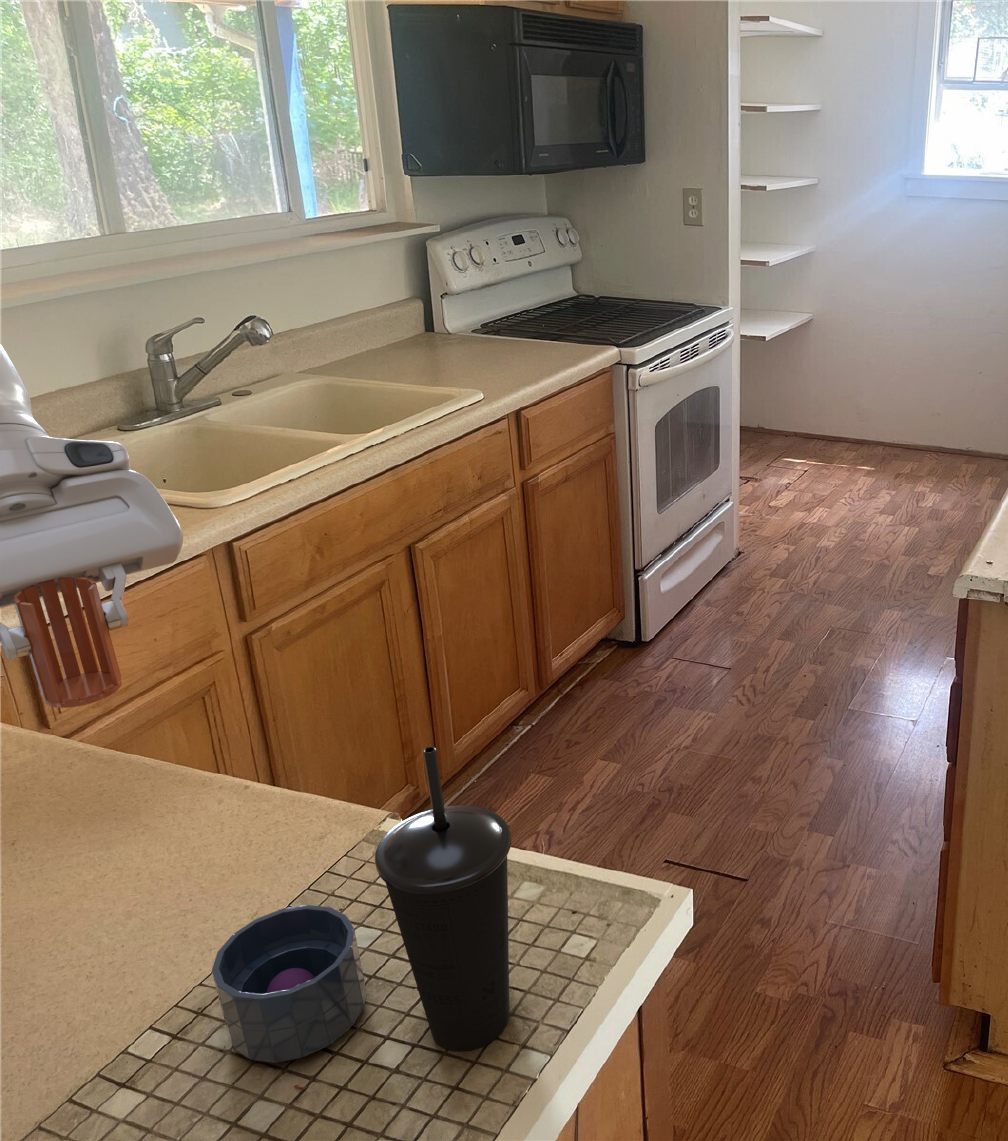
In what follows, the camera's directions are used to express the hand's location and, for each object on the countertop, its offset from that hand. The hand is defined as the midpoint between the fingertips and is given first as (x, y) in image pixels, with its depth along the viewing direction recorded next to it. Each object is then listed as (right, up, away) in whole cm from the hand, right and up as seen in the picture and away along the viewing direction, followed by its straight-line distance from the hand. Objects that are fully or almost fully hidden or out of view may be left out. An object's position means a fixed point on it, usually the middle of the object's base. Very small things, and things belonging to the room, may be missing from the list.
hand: (71, 639), depth 80 cm
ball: (+23, -21, -13) cm, 34 cm away
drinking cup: (+34, -23, -13) cm, 43 cm away
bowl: (+23, -23, -13) cm, 35 cm away
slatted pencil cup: (0, -4, +2) cm, 5 cm away
